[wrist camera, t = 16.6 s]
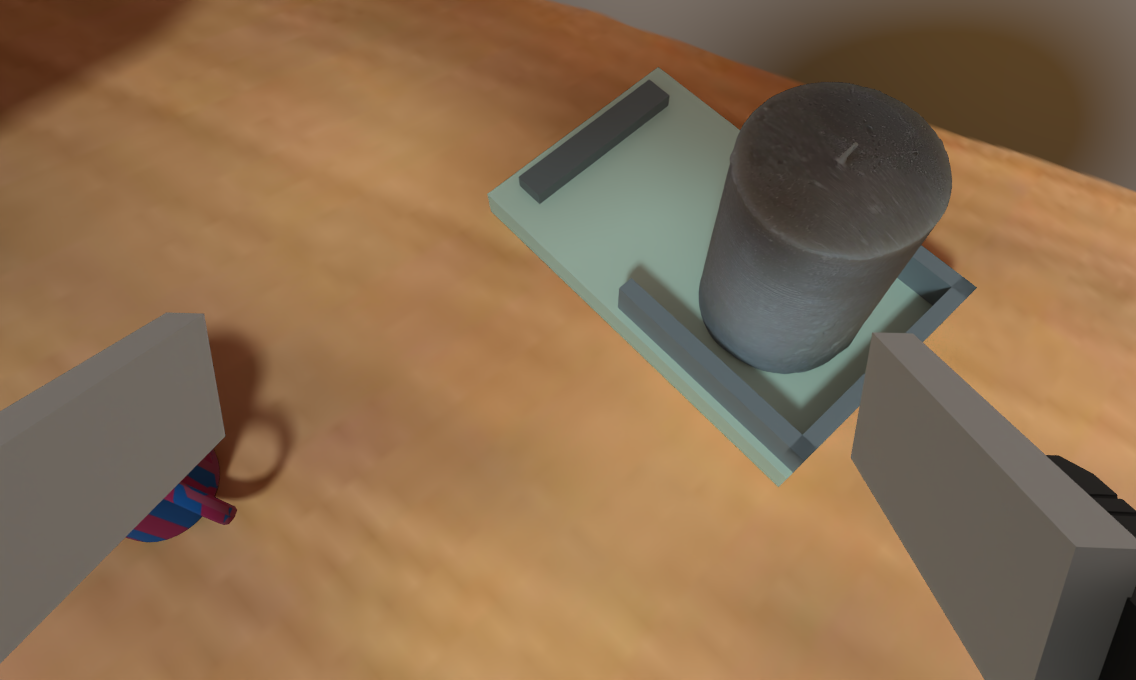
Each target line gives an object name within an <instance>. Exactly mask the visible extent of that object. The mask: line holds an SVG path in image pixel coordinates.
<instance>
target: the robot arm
mask: <svg viewBox="0 0 1136 680" xmlns="http://www.w3.org/2000/svg"><path fill="white" fill-rule="evenodd" d="M224 437H225V430H224V425H223V419H222V413H221V408H220V402H219V396H218V391H217V385H216V379H215V373H214V368H213V362H212V356H211V351H210V345H209V339H208V334H207V328H206V322H205V317H204V314H195V313H165V314H163V315H162V316H160V317H158V318H157V319H155V320H153V321H152V322H150V323H148V324H147V325H145V326H143V327H142V328H140V329H138V330H136V331H135V332H133V333H131V334H130V335H128V336H126V337H125V338H123V339H121V340H120V341H118V342H116V343H115V344H113V345H111V346H110V347H108V348H106V349H104V350H103V351H101V352H99V353H98V354H96V355H94V356H93V357H91V358H89V359H88V360H86V361H84V362H83V363H81V364H79V365H78V366H76V367H74V368H72V369H71V370H69V371H67V372H66V373H64V374H62V375H61V376H59V377H57V378H56V379H54V380H52V381H51V382H49V383H47V384H45V385H44V386H42V387H40V388H39V389H37V390H35V391H34V392H32V393H30V394H29V395H27V396H25V397H24V398H22V399H20V400H19V401H17V402H15V403H13V404H12V405H10V406H8V407H7V408H5V409H3V410H2V411H0V663H1V662H2V661H3V660H4V659H5V658H6V657H7V656H8V655H9V654H10V653H11V652H12V651H13V650H14V649H15V648H16V647H17V646H18V645H19V644H20V643H21V642H22V641H23V640H24V639H25V638H26V637H27V636H28V635H29V634H30V633H31V632H32V631H33V630H34V629H35V628H36V627H37V626H38V625H39V624H40V623H41V622H42V621H43V620H44V619H45V618H46V617H47V616H48V615H49V614H50V613H51V612H52V611H53V610H54V609H55V608H56V607H57V606H58V605H59V604H60V603H61V602H62V601H63V600H64V599H65V598H66V597H67V596H68V595H69V594H70V593H71V592H72V591H73V590H74V589H75V588H76V587H77V586H78V584H79V583H80V582H81V581H82V580H83V579H84V578H85V577H86V576H87V575H88V574H89V573H90V572H91V571H92V570H93V569H94V568H95V567H96V566H97V565H98V564H99V563H100V562H101V561H102V560H103V559H104V558H105V557H106V556H107V555H108V554H109V553H110V552H111V551H112V550H113V549H114V548H115V547H116V546H117V545H118V544H119V543H120V542H121V541H122V540H123V539H124V538H125V537H126V536H127V535H128V534H129V533H130V532H131V531H132V530H133V529H134V528H135V527H136V526H137V525H138V524H139V523H140V522H141V521H142V520H143V519H144V518H145V517H146V516H147V515H148V514H149V513H150V512H151V511H152V510H153V509H154V508H155V507H156V506H157V505H158V504H159V503H160V502H161V501H162V500H163V499H164V498H165V497H166V496H167V495H168V494H169V493H170V492H171V491H172V490H173V489H174V488H175V487H176V486H177V485H178V484H179V483H180V482H181V481H182V480H183V479H184V477H185V476H186V475H187V474H188V473H189V472H190V471H191V470H192V469H193V468H194V467H195V466H196V465H197V464H198V463H199V462H200V461H201V460H202V459H203V458H204V457H205V456H206V455H207V454H208V453H209V452H210V451H211V450H212V449H213V448H214V447H215V446H216V445H217V444H218V443H219V442H220V441H221V440H222V439H223V438H224ZM851 459H852V460H853V462H854V464H855V465H856V467H857V469H858V470H859V472H860V474H861V475H862V477H863V479H864V480H865V482H866V484H867V485H868V487H869V489H870V490H871V492H872V494H873V495H874V497H875V499H876V500H877V502H878V504H879V505H880V507H881V509H882V510H883V512H884V514H885V515H886V517H887V519H888V520H889V522H890V523H891V525H892V527H893V528H894V530H895V532H896V533H897V535H898V537H899V538H900V540H901V542H902V543H903V545H904V547H905V548H906V550H907V552H908V553H909V555H910V557H911V558H912V560H913V562H914V563H915V565H916V567H917V568H918V570H919V572H920V573H921V575H922V577H923V578H924V580H925V582H926V583H927V585H928V587H929V588H930V590H931V592H932V593H933V595H934V596H935V598H936V600H937V601H938V603H939V605H940V606H941V608H942V610H943V611H944V613H945V615H946V616H947V618H948V620H949V621H950V623H951V625H952V626H953V628H954V630H955V631H956V633H957V635H958V636H959V638H960V640H961V641H962V643H963V645H964V646H965V648H966V650H967V651H968V653H969V655H970V656H971V658H972V660H973V661H974V663H975V665H976V666H977V668H978V669H979V671H980V673H981V674H982V676H983V678H984V679H985V680H1136V511H1135V510H1134V509H1133V508H1132V507H1131V506H1130V505H1129V504H1127V503H1126V502H1125V501H1124V500H1123V499H1118V498H1117V494H1116V493H1115V492H1114V491H1112V490H1111V489H1110V488H1109V487H1108V486H1107V485H1105V484H1104V483H1103V482H1102V481H1101V480H1100V479H1099V478H1097V477H1096V476H1095V475H1094V474H1092V473H1091V472H1089V471H1087V470H1085V469H1083V468H1081V467H1079V466H1077V465H1075V464H1074V463H1072V462H1070V461H1068V460H1066V459H1064V458H1062V457H1060V456H1056V455H1045V454H1044V453H1043V452H1042V451H1040V450H1039V449H1038V448H1037V447H1036V446H1035V445H1034V444H1033V443H1032V442H1031V441H1030V440H1028V439H1027V438H1026V437H1025V436H1024V435H1023V434H1022V433H1021V432H1020V431H1019V430H1018V429H1016V428H1015V427H1014V426H1013V425H1012V424H1011V423H1010V422H1009V421H1008V420H1007V419H1006V418H1005V417H1003V416H1002V415H1001V414H1000V413H999V412H998V411H997V410H996V409H995V408H994V407H993V406H991V405H990V404H989V403H988V402H987V401H986V400H985V399H984V398H983V397H982V396H981V395H979V394H978V393H977V392H976V391H975V390H974V389H973V388H972V387H971V386H970V385H969V384H967V383H966V382H965V381H964V380H963V379H962V378H961V377H960V376H959V375H958V374H957V373H955V372H954V371H953V370H952V369H951V368H950V367H949V366H948V365H947V364H946V363H945V362H944V361H942V360H941V359H940V358H939V357H938V356H937V355H936V354H935V353H934V352H933V351H932V350H930V349H929V348H928V347H927V346H926V345H925V344H924V343H923V342H922V341H921V340H920V339H918V338H917V337H916V336H915V335H914V334H913V333H880V332H872V337H871V343H870V349H869V355H868V361H867V366H866V372H865V378H864V384H863V390H862V396H861V401H860V407H859V413H858V419H857V425H856V430H855V436H854V442H853V448H852V454H851Z"/></svg>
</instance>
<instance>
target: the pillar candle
mask: <svg viewBox="0 0 1136 680" xmlns="http://www.w3.org/2000/svg"><path fill="white" fill-rule="evenodd" d="M951 189H952V175H951V168H950V163H949V158H948V155H947V152H946V151H945V148H944V145H943V142H942V140H941V139H939V137H938V136H937V134H936V133H935V131H934V130H933V129H932V128H931V127H930V126H929V125H928V123H927V122H926V121H925V120H924V118H923V117H921V116H920V115H919V114H918V113H917V112H915V111H913V110H912V109H911V108H910V107H908V106H907V105H905V104H904V103H902V102H900V101H898V100H896V99H895V98H892V97H890V96H888V95H886V94H883V93H882V92H881V91H878V90H875V89H870V88H867V87H862V86H858V85H854V84H850V83H843V82H821V83H811V84H806V85H800V86H798V87H794V88H791V89H788V90H786V91H784V92H781V93H779V94H777V95H775V96H773V97H771V98H769V99H768V100H767V101H766V102H764V103H763V104H762V105H761V106H760V107H758V108H757V109H756V110H755V111H754V112H753V113H752V114H751V115H750V117H749V118H748V119H747V120H746V122H745V123H744V124H743V126H742V128H741V130H740V132H739V134H738V136H737V139H736V142H735V145H734V149H733V151H732V153H731V155H730V165H729V169H728V172H727V176H726V180H725V185H724V189H723V193H722V197H721V200H720V205H719V209H718V213H717V217H716V221H715V225H714V229H713V233H712V236H711V240H710V245H709V249H708V253H707V257H706V261H705V265H704V269H703V274H702V277H701V280H700V286H699V308H700V312H701V316H702V319H703V322H704V324H705V326H706V328H707V330H708V332H709V334H710V335H711V337H712V338H713V339H714V341H715V342H716V343H717V344H718V345H719V346H721V347H722V348H723V349H725V350H726V351H727V352H729V353H730V354H731V355H733V356H734V357H735V358H737V359H739V360H740V361H742V362H744V363H746V364H748V365H750V366H752V367H754V368H757V369H759V370H762V371H766V372H772V373H780V374H790V373H801V372H806V371H809V370H812V369H815V368H817V367H819V366H822V365H824V364H825V363H827V362H829V361H830V360H831V359H832V358H834V357H835V356H836V355H837V354H839V353H840V352H842V351H843V350H844V349H846V348H848V347H849V345H850V344H851V343H852V341H853V339H854V338H855V336H856V335H857V333H858V331H859V330H860V329H861V327H862V326H863V324H864V323H865V321H866V320H867V319H868V318H869V316H870V315H871V314H872V312H873V310H874V309H875V308H876V306H877V305H878V304H879V302H880V301H881V299H882V298H883V297H884V295H885V294H886V292H887V291H888V290H889V288H890V287H891V285H892V284H893V283H894V281H895V280H896V279H897V277H898V276H899V275H900V273H901V272H902V270H903V269H904V268H905V266H906V265H907V263H908V262H909V261H910V259H911V258H912V257H913V255H914V254H915V253H916V251H917V250H918V249H919V247H920V246H921V244H922V243H923V242H924V240H925V239H926V238H927V236H928V235H929V233H930V232H931V231H932V229H933V228H934V226H935V225H936V224H937V222H938V221H939V220H940V219H941V217H942V215H943V214H944V212H945V210H946V208H947V206H948V203H949V199H950V195H951Z"/></svg>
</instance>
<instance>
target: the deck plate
mask: <svg viewBox="0 0 1136 680" xmlns="http://www.w3.org/2000/svg"><path fill="white" fill-rule="evenodd" d="M739 132H740V130H739V129H738V128H736V127H735V126H734V125H733V124H731V123H730V122H729V121H727V120H726V119H725V118H724V117H722V116H721V115H720V114H718V113H717V112H716V111H714V110H713V109H712V108H711V107H709V106H708V105H707V104H705V103H704V102H703V101H702V100H700V99H699V98H698V97H696V96H695V95H694V94H692V93H691V92H690V91H689V90H687V89H686V88H685V87H683V86H682V85H681V84H680V83H678V82H677V81H676V80H674V79H673V78H672V77H670V76H669V75H668V74H667V73H665V72H664V71H663V70H661V69H660V68H659V67H657V68H656V69H655V70H653V71H652V72H651V73H649V74H648V75H647V76H645V77H644V78H643V79H641V80H640V81H639V82H637V83H636V84H635V85H633V86H632V87H631V88H629V89H628V90H627V91H625V92H624V93H623V94H621V95H620V96H619V97H617V98H616V99H614V100H613V101H612V102H610V103H609V104H608V105H606V106H605V107H604V108H602V109H601V110H600V111H598V112H597V113H596V114H594V115H593V116H592V117H590V118H589V119H588V120H586V121H585V122H584V123H582V124H581V125H580V126H578V127H577V128H576V129H574V130H573V131H572V132H570V133H569V134H567V135H566V136H565V137H563V138H562V139H561V140H559V141H558V142H557V143H555V144H554V145H553V146H551V147H550V148H549V149H547V150H546V151H545V152H543V153H542V154H541V155H539V156H538V157H537V158H535V159H534V160H533V161H531V162H530V163H529V164H527V165H526V166H524V167H523V168H522V169H520V170H519V171H518V172H516V173H515V174H514V175H512V176H511V177H510V178H508V179H507V180H506V181H504V182H503V183H502V184H500V185H499V186H498V187H496V188H495V189H494V190H492V191H491V192H490V193H488V194H487V195H488V199H489V204H490V208H491V212H493V213H494V214H495V215H496V216H497V217H498V218H499V219H500V220H501V221H502V222H503V223H504V224H505V225H506V226H507V227H508V228H509V229H510V230H511V231H512V232H513V233H514V234H515V235H516V236H518V237H519V238H520V239H521V240H522V241H523V242H524V243H525V244H526V245H527V246H528V247H529V248H530V249H531V250H532V251H533V252H534V253H535V254H536V255H537V256H538V257H539V258H540V259H542V260H543V261H544V262H545V263H546V264H547V265H548V266H549V267H550V268H551V269H552V270H553V271H554V272H555V273H556V274H557V275H558V276H559V277H560V278H561V279H562V280H563V281H564V282H565V283H567V284H568V285H569V286H570V287H571V288H572V289H573V290H574V291H575V292H576V293H577V294H578V295H579V296H580V297H581V298H582V299H583V300H584V301H585V302H586V303H587V304H588V305H589V306H591V307H592V308H593V309H594V310H595V311H596V312H597V313H598V314H599V315H600V316H601V317H602V318H603V319H604V320H605V321H606V322H607V323H608V324H609V325H610V326H611V327H612V328H613V329H614V330H616V331H617V332H618V333H619V334H620V335H621V336H622V337H623V338H624V339H625V340H626V341H627V342H628V343H629V344H630V345H631V346H632V347H633V348H634V349H635V350H636V351H637V352H638V353H639V354H641V355H642V356H643V357H644V358H645V359H646V360H647V361H648V362H649V363H650V364H651V365H652V366H653V367H654V368H655V369H656V370H657V371H658V372H659V373H660V374H661V375H662V376H663V377H665V378H666V379H667V380H668V381H669V382H670V383H671V384H672V385H673V386H674V387H675V388H676V389H677V390H678V391H679V392H680V393H681V394H682V395H683V396H684V397H685V398H686V399H687V400H688V401H690V402H691V403H692V404H693V405H694V406H695V407H696V408H697V409H698V410H699V411H700V412H701V413H702V414H703V415H704V416H705V417H706V418H707V419H708V420H709V421H710V422H711V423H712V424H713V425H715V426H716V427H717V428H718V429H719V430H720V431H721V432H722V433H723V434H724V435H725V436H726V437H727V438H728V439H729V440H730V441H731V442H732V443H733V444H734V445H735V446H736V447H737V448H739V449H740V450H741V451H742V452H743V453H744V454H745V455H746V456H747V457H748V458H749V459H750V460H751V461H752V462H753V463H754V464H755V465H756V466H757V467H758V468H759V469H760V470H761V471H762V472H764V473H765V474H766V475H767V476H768V477H769V478H770V479H771V480H772V481H773V482H774V483H775V484H776V485H777V486H778V487H779V486H780V485H781V484H782V483H783V482H784V481H785V480H786V479H787V478H788V477H789V476H790V475H791V474H792V473H793V472H794V471H795V470H796V469H797V468H798V467H799V466H800V465H801V464H802V463H803V462H804V461H805V460H806V459H807V458H808V457H809V456H810V455H811V454H812V453H813V452H814V451H815V450H816V449H817V448H818V447H819V446H820V445H821V444H822V443H823V442H824V441H825V440H826V439H827V438H828V437H829V436H830V435H831V434H832V433H833V432H834V431H835V430H836V429H837V428H838V427H839V426H840V425H841V424H842V423H843V422H844V421H845V420H846V419H847V418H848V417H849V416H850V415H851V414H852V413H853V412H854V411H855V410H856V409H857V408H858V407H859V406H860V401H861V396H862V390H863V384H864V378H865V372H866V366H867V361H868V355H869V349H870V343H871V337H872V332H880V333H913V334H914V335H915V336H916V337H917V338H918V339H920V340H921V341H922V342H923V341H924V340H925V339H926V338H927V337H928V336H929V335H930V334H931V333H932V332H933V331H934V330H935V329H936V328H937V327H938V326H939V325H940V324H941V323H942V322H943V321H944V320H945V319H946V318H947V317H948V316H949V315H950V314H951V313H952V312H953V311H954V310H955V309H956V308H957V307H958V306H959V305H960V304H961V303H962V302H963V301H964V300H965V299H966V298H967V297H968V296H969V295H970V294H971V293H972V292H973V291H974V290H975V289H976V288H977V287H975V286H974V285H973V284H972V283H970V282H969V281H968V280H966V279H965V278H964V277H962V276H961V275H960V274H958V273H957V272H956V271H954V270H953V269H952V268H950V267H949V266H948V265H947V264H945V263H944V262H943V261H941V260H940V259H939V258H937V257H936V256H935V255H933V254H932V253H931V252H929V251H928V250H927V249H925V248H924V247H923V246H922V245H921V246H920V247H919V249H918V250H917V251H916V253H915V254H914V255H913V257H912V258H911V259H910V261H909V262H908V263H907V265H906V266H905V268H904V269H903V270H902V272H901V273H900V275H899V276H898V277H897V279H896V280H895V281H894V283H893V284H892V285H891V287H890V288H889V290H888V291H887V292H886V294H885V295H884V297H883V298H882V299H881V301H880V302H879V304H878V305H877V306H876V308H875V309H874V310H873V312H872V314H871V315H870V316H869V318H868V319H867V320H866V321H865V323H864V324H863V326H862V327H861V329H860V330H859V331H858V333H857V335H856V336H855V338H854V339H853V341H852V343H851V344H850V345H849V347H848V348H846V349H844V350H843V351H842V352H840V353H839V354H837V355H836V356H835V357H834V358H832V359H831V360H830V361H829V362H827V363H825V364H824V365H822V366H819V367H817V368H815V369H812V370H809V371H806V372H801V373H790V374H780V373H772V372H766V371H762V370H759V369H757V368H754V367H752V366H750V365H748V364H746V363H744V362H742V361H740V360H739V359H737V358H735V357H734V356H733V355H731V354H730V353H729V352H727V351H726V350H725V349H723V348H722V347H721V346H719V345H718V344H717V343H716V342H715V341H714V339H713V338H712V337H711V335H710V334H709V332H708V330H707V328H706V326H705V324H704V322H703V319H702V316H701V312H700V308H699V286H700V280H701V277H702V274H703V269H704V265H705V261H706V257H707V253H708V249H709V245H710V240H711V236H712V233H713V229H714V225H715V221H716V217H717V213H718V209H719V205H720V200H721V197H722V193H723V189H724V185H725V180H726V176H727V172H728V169H729V165H730V155H731V153H732V151H733V149H734V145H735V142H736V139H737V136H738V134H739Z"/></svg>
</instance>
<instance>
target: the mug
mask: <svg viewBox="0 0 1136 680" xmlns="http://www.w3.org/2000/svg"><path fill="white" fill-rule="evenodd" d="M219 477H220V474H219V463H218V459H217V456H216V454H215V452H214V450H213V449H212V450H211V451H210V452H209V453H208V454H207V455H206V456H205V457H204V458H203V459H202V460H201V461H200V462H199V463H198V464H197V465H196V466H195V467H194V468H193V469H192V470H191V471H190V472H189V473H188V474H187V475H186V476H185V477H184V479H183V480H182V481H181V482H180V483H179V484H178V485H177V486H176V487H175V488H174V489H173V490H172V491H171V492H170V493H169V494H168V495H167V496H166V497H165V498H164V499H163V500H162V501H161V502H160V503H159V504H158V505H157V506H156V507H155V508H154V509H153V510H152V511H151V512H150V513H149V514H148V515H147V516H146V517H145V518H144V519H143V520H142V521H141V522H140V523H139V524H138V525H137V526H136V527H135V528H134V529H133V530H132V531H131V532H130V533H129V534H128V535H127V536H126V538H130V539H133V540H136V541H142V542H158V541H162V540H167V539H170V538H172V537H175V536H177V535H179V534H181V533H182V532H184V531H186V530H187V529H189V528H190V527H191V526H193V525H194V524H195V523H196V522H197V521H198V520H199V519H200V518H201V517H202V516H203V517H205V518H208V519H210V520H212V521H215V522H217V523H220V524H223V525H226V524H229V523H230V522H231V521H232V520H233V519H234V517H235V514H236V512H237V509H236V507H235V506H233V505H230V504H228V503H226V502H224V501H222V500H220V499H218V498H216V497H215V494H216V491H217V488H218V483H219Z"/></svg>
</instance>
